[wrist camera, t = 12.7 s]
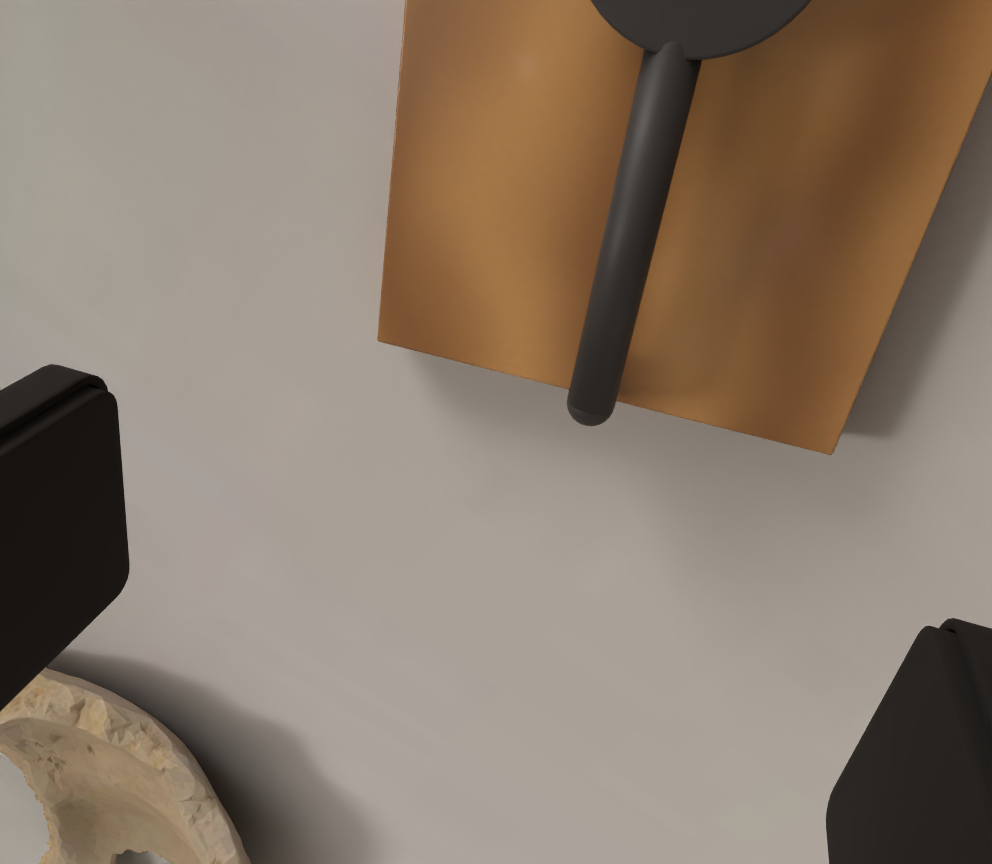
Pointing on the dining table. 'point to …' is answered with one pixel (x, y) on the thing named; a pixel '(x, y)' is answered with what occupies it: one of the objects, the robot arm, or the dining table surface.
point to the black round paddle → (652, 165)
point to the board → (676, 199)
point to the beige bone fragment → (112, 778)
